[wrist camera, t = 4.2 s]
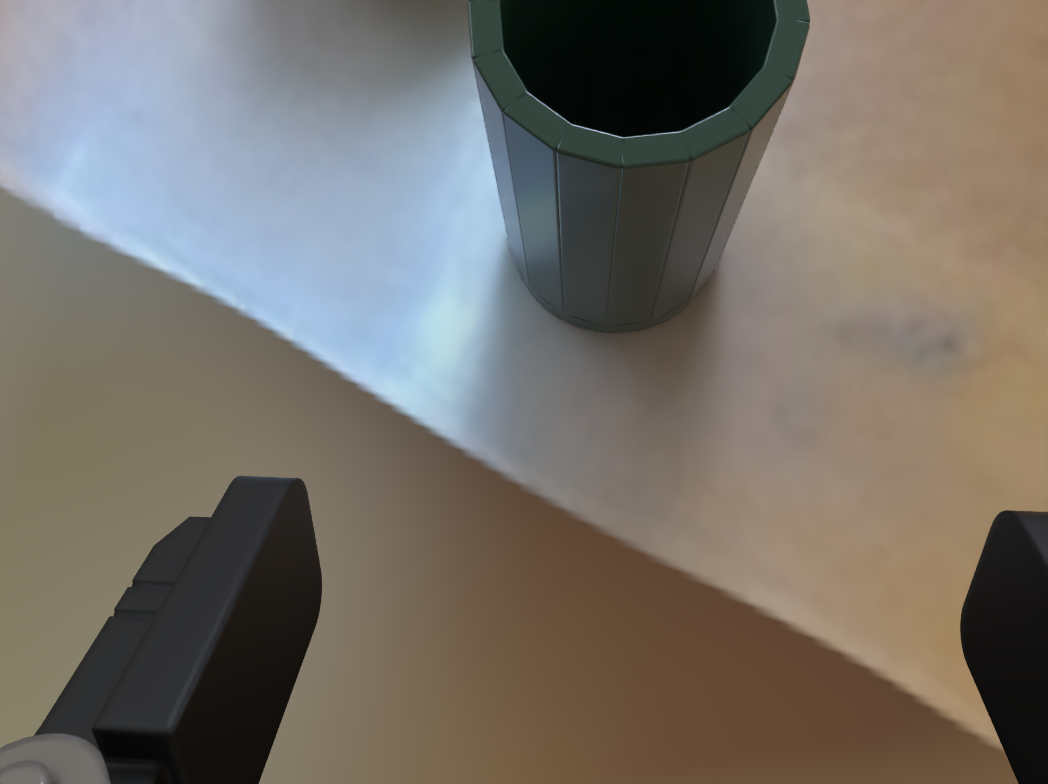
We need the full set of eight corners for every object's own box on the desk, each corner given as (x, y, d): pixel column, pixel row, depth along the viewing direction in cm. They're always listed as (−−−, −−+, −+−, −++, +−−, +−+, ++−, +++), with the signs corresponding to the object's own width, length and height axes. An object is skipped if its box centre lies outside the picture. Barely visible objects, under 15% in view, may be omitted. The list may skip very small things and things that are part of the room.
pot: (482, 300, 25) (423, 115, 16) (545, 115, 27) (527, -163, 17) (688, 358, 25) (759, 204, 15) (744, 166, 26) (843, -93, 16)
